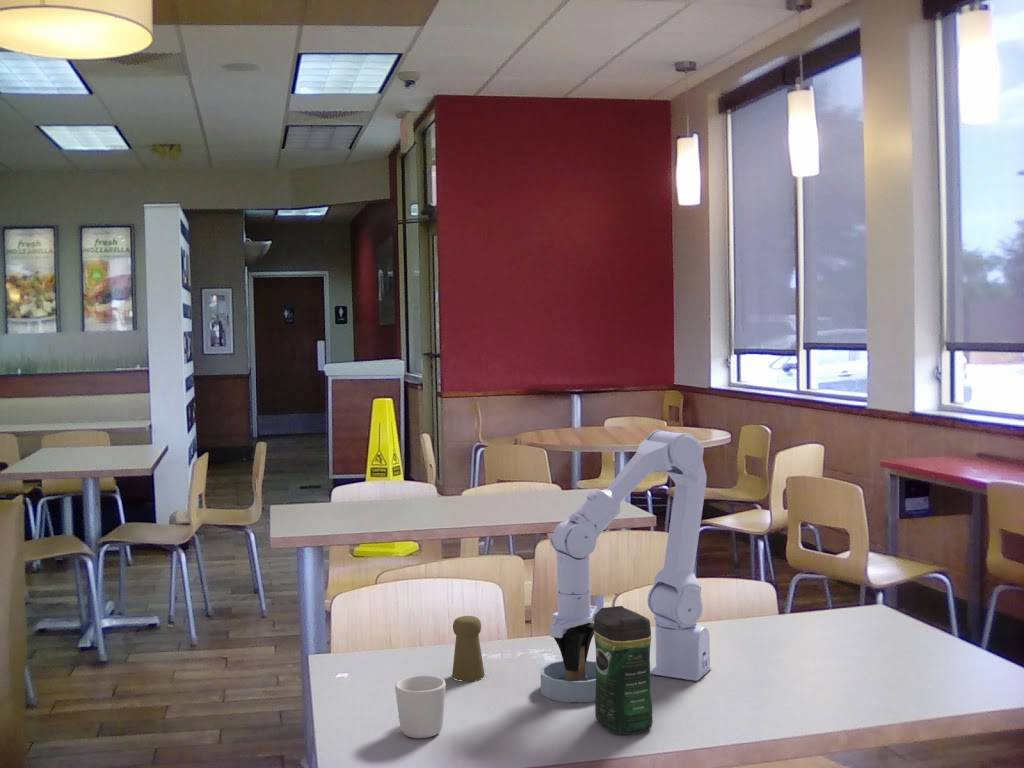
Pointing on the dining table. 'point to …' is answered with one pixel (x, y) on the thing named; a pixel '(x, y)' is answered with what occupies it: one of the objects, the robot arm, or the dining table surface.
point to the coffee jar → (623, 670)
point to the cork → (467, 649)
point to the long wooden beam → (580, 673)
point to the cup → (421, 705)
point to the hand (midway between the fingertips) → (575, 667)
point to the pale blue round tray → (568, 683)
